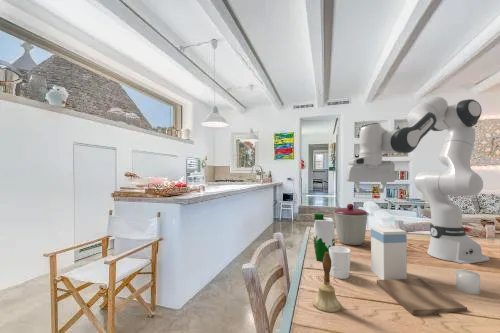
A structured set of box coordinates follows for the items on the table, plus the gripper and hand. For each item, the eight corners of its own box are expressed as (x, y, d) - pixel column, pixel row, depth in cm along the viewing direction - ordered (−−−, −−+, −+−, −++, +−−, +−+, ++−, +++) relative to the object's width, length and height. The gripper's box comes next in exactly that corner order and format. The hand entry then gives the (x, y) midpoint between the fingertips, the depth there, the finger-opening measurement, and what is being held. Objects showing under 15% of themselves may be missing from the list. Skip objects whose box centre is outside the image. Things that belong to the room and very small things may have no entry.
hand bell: (333, 296, 79) (332, 247, 79) (346, 311, 71) (345, 256, 71) (308, 298, 78) (308, 248, 78) (319, 313, 70) (318, 258, 70)
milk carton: (313, 254, 116) (313, 212, 116) (333, 255, 114) (332, 212, 114) (314, 261, 108) (314, 216, 108) (336, 262, 106) (335, 216, 106)
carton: (392, 270, 97) (391, 225, 97) (407, 280, 89) (406, 231, 89) (371, 271, 97) (370, 226, 97) (384, 281, 88) (383, 232, 88)
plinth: (420, 282, 87) (420, 278, 87) (467, 312, 69) (467, 307, 69) (376, 284, 87) (376, 279, 87) (412, 315, 69) (412, 309, 69)
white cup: (348, 281, 89) (348, 254, 89) (326, 276, 93) (326, 250, 93) (352, 273, 95) (352, 247, 95) (331, 269, 100) (331, 244, 99)
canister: (346, 249, 122) (345, 207, 122) (326, 238, 140) (326, 202, 140) (377, 246, 126) (376, 205, 126) (354, 236, 144) (353, 200, 144)
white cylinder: (468, 286, 84) (468, 269, 84) (485, 295, 78) (485, 277, 78) (451, 287, 84) (451, 269, 84) (467, 296, 78) (467, 277, 78)
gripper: (390, 160, 109) (390, 191, 108) (344, 160, 109) (344, 191, 108) (398, 160, 102) (398, 193, 102) (350, 160, 102) (350, 193, 102)
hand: (370, 192), depth 105 cm, fingers open, 8 cm apart
